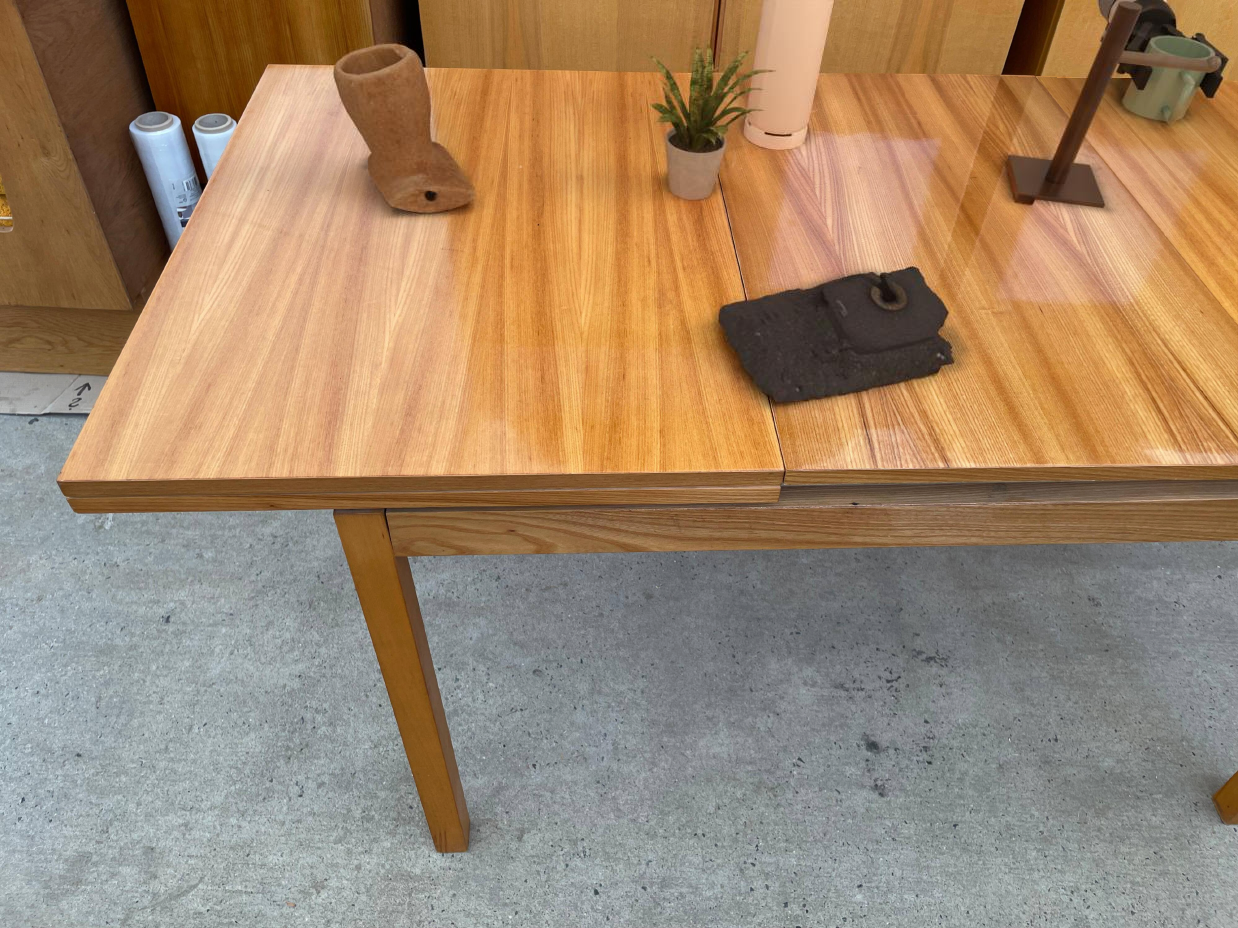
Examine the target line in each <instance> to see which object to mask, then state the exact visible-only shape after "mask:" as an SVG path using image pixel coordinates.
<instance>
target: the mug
mask: <svg viewBox="0 0 1238 928" xmlns="http://www.w3.org/2000/svg"><path fill="white" fill-rule="evenodd" d="M1144 53H1149V54H1158V55H1167V56H1176V57H1185V58H1194V59H1202V60H1206V59H1207V58H1209V57H1211V56H1215V52H1214V51H1213V49H1212V48H1210V47H1208V46H1207V45H1205V44H1203V43H1200V42H1198V41H1195V40H1192V39H1187V38H1183V37H1177V36H1157V37H1154V38H1151V40H1150V42H1149V44H1148V46H1147V48H1146V50H1145V52H1144ZM1151 68H1152V69H1153V71H1152V74H1151V76H1150V78H1149V80H1148V82H1147V84H1146V86H1145V88H1144V90H1138V89H1137V87H1136V86H1135V84H1134V82H1133V80H1132V79H1131V80H1130V82H1129V85H1128V87H1127V90H1126V91H1125V93H1124V96H1123V98H1122V100H1121V103H1122V105H1123V107H1124V108H1126V109H1127V110H1128V111H1130V112H1131V113H1133V114H1135V115H1137V116H1139V117H1143V118H1146V119H1150V120H1155V121H1163V122H1166V123H1167V124H1168V125H1170V126H1171V125H1174V124H1175V123H1176V122H1177V121H1178V120H1180V119H1183V118H1184V116H1185V115H1186V113H1187V110H1188V109H1189V107H1190V105H1191V103H1192V101H1193V99H1194V97H1195V95H1196V93H1197V91H1198V90H1199V88H1200V87H1199V85H1200V83H1201V81H1202V80H1203V78H1204V76H1205V74H1206V72H1199V71H1190V70H1181V69H1173V68H1164V67H1155V66H1151Z"/></svg>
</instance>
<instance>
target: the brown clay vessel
mask: <svg viewBox="0 0 1238 928" xmlns="http://www.w3.org/2000/svg"><path fill="white" fill-rule="evenodd" d="M332 74H333V79H334V83H335V86H336V89H337V92H338V95H339V98H340V100H341V103H342V105H343V107H344V109H345V111H346V114H347V115H348V116H349V118H350V119H351V121H352V123H353V125H354V126H355V128H356V129H357V131H358V132H359V134H360V135H361V137H362V139H363V141H364V142H365V144H366V146H367V149H368V150H369V152H370V154H369V155H368V157H367V168H368V173H369V175H370V177H371V179H372V181H373V182H374V184H375V185H376V187H377V188H378V190H379V191H380V193H381V195H382V196H383V198H384V199H385V201H386V203H388V205H389V206H390V207H392V208H395V209H398V210H403V211H408V212H412V213H422V214H434V213H440V212H441V213H442V212H445V211H449V210H454V209H456V208H460V207H462V206H464V205H467V204H468V203H470V202H472V201H473V200H475V198H476V196H477V193H476V191H475V189H474V187H473V184H471V182H470V180H469V178H468V177H467V175H465V172H463V171H462V169H461V167H460V166H459V165H460V164H458V163H457V161H456V159H455V158H454V157H453V156H452V154H451V153H450V152H449V150H447V149H446V147H445V146H443V145H442V144H441V143H440V142H437V141H432V131H431V115H432V101H431V94H430V89H429V86H428V81H427V78H426V72H425V69H424V66H423V63H422V60H421V58H420V57H419V55H418V54H417V53H416V51H414V50H413V49H411V48H409V47H407V46H406V45H403V44H398V43H381V44H376V45H372V46H369V47H364V48H359V49H356V50H353V51H351V52H349V53H347V54H345V55H343V56H342V57H341V58H340V59H338V61H337V60H336V63H335V64H334V66H333V73H332Z"/></svg>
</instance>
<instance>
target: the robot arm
mask: <svg viewBox="0 0 1238 928" xmlns="http://www.w3.org/2000/svg"><path fill="white" fill-rule="evenodd" d="M1122 1H1129V2H1134V3H1137V4H1139V5H1141V6H1142V10H1141V12H1140V14H1139V16H1138V19H1137V21H1136V23H1135V25H1134V28H1133V30H1132V32H1131V34H1130V37H1129V39H1128V41H1127V43H1126V46H1125V48H1124V50H1123V51H1132V52H1140V53H1144V52H1145V50H1146V48H1147V46H1148V44H1149V42H1150V40H1151V38H1154V37H1157V36H1177V37H1183V38H1187V39H1192V40H1195V41H1198V42H1200V43H1203V44H1205V45H1207V46H1208V47H1210V48H1212V49H1213V51H1214V52H1215V56H1218V57H1219V58H1220V59H1221V65H1220V67H1219V68H1218V69H1217V70H1216V71H1213V72H1211V73H1208V72H1206V74H1205V76H1204V78H1203V80H1202V81H1201V83H1200V85H1199V87H1198V88H1200V90H1201V91H1202V93H1203V95H1204V96H1205V98H1206V99H1214V97H1215V95H1216V93H1217V91H1218V89H1219V87H1220V86H1221V83H1222V82H1223V80H1224V77H1223V75H1222V74H1223V72H1224V70H1225V68H1226V66H1227V65H1228V62H1229V60H1230V59H1229V58H1228V56H1226V55H1225V54H1224V53H1222V51H1220V50H1219V49H1218V48H1217V47H1215V46H1214V45H1213V44H1212V43H1210V41H1208V40H1207V38H1206V36H1205V34H1203V33H1202V32H1196V33H1195V34H1194V35H1192V36H1191V37H1189V36H1186V35H1184V33H1183V31H1180V30H1179V29H1177V17H1176V14H1175V12H1174V10H1173V9H1172V8H1171V6H1170V5H1169V3H1168V1H1167V0H1097V3H1098V7H1099V8H1098V9H1099V13H1100V14H1101V16H1102V17H1103V18H1104V19H1105V21H1106V22H1107V23H1106V26H1105V28H1104V30H1103V33H1102V35H1101V38H1100V40H1099V41H1100V43H1102V41H1103V39H1104V36H1105V34H1106V32H1107V29H1108V27H1109V24H1110V22H1111V20H1112V17H1113V15H1114V13H1115V10H1116V8H1117V6H1118V3H1119V2H1122ZM1152 71H1153V69H1152V68H1151V66H1146V65H1138V64H1129V63H1120V62H1118V64H1117V67H1116V70H1115V72H1116V74H1119V75H1125V74H1127V75H1129V76H1130V79H1131V80H1133V82H1134V84H1135V86H1136V87H1137V89H1138V90H1144V88H1145V86H1146V84H1147V82H1148V80H1149V78H1150V76H1151V74H1152Z"/></svg>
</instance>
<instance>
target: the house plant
mask: <svg viewBox="0 0 1238 928" xmlns="http://www.w3.org/2000/svg"><path fill="white" fill-rule="evenodd" d="M692 48H693V50H694V53H693V60H692V68H691V75H690V81H689V82H690V83H689V96H688V108H687V106H686V103H685V101H684V99H683V97H682V94H681V91H680V89H679V86H678V83H677V82H676V80H675V78H674V76H673V75H672V73H671V71H670V70H669V69H668V68H667V67H666V66H665V65H664V64H663V63H662V62H661V61H659V59H658V58H656V57H655V56H653V55H650V54H648V53H646V56H648V57H649V58H650V60H652V61H653V62H654V64H655V65H656V66H657V67H658V69H659V70H660V72H661V73H662V75H663V76H664V78H665V80H666V82H667V83H666V82H665V81H664V80H662V79H661V78H657V79H658V80H659V81H660V82H661V83H662V84H663V85H664V86H665V87H666V88H665V87H663V86H662V91H663V94H664V100H665V103H666V105H664V104H662V103H651V104H650V106H651V107H652V108H653V109H654V110H655V111H657V112H659V114H661V115H660V117H659V118H658V119H657V120H656V122H655V123H654V125H656V124H657V123H670V124H671V125H672V127H673V128H671V129H669V130H668V131H667V133H666V134H665V137H664V140H665V152H666V153H665V155H666V167H667V168H666V169H667V181H668V189H669V192H670V193H671V194H672V195H674V196H676V197H678V198H680V199H682V200H688V201H699V200H703V199H706V198H709V197H710V196H711V195H712V194H713V190H714V187H715V183H716V180H717V177H718V174H719V171H720V168H721V164H722V162H723V158H724V154H725V151H726V148H727V145H728V139H727V138H726V136H725V135H726V133H727V132H728V131H729V126H730V125H731V124H732V123H734V122H735V121H737V120H738V119H740V118H741V117H743V116H745V115H747V113H749V112H752V111H763V110H760V109H749V110H747V108H746V109H745V108H744V107H741V106H732V107H730V106H731V104H733V103H734V102H735V100H737V99H738V98H740V97H741V96H742V95H745V94H747V93H748V92H749V93H750V91H751V90H763V89H760V88H750V87H748V88H745V89H743V90H741V91H739V92H737V91H736V90H735V88H737V87H738V86H739V85H740V84H742V83H743V82H744V81H746V80H748V79H750V78H752V76H754V75H756V74H759V73H766V72H775V71H774V70H755V71H753V70H752V71H749V72H747V73H745V74H743V75H741V76H740V77H738V78H737V79H736V80H735V81H734V82H732V84H731V82H730V81H731V80H732V78H733V77H734V75H735V74H736V72H737V70H738V69H739V68H740V67H741V66H742V65H743V64H744V62H743V59H744V58H745V57H746V56H747V55H748V54H749V52H750V49H748V50H746V51H744V52H742V53H741V54H740V55H738V56H737V57H736V58H734V60H733V61H732V62H731V63H730V64H729V66H728V67H727V68H726V70H725V71H724V72H723V74H722V75H721V77H720V79H719V80H718V81H717V83H716V86H715V88H714V72H715V71H717V70H718V69H719V68H721V67H722V66H723V65H724V64H721V65H720V66H718V67H716V68H714V58H713V52H712V48H711V46H710V44H709V40H708V39H707V40H706V63H705V60H704V57H703V49H702V47H701V46H700V42H698V43H697V44H696V47H692ZM778 72H779V71H778ZM729 82H730V83H729ZM729 85H730V86H729ZM727 87H728V89H727V90H726V88H727ZM667 89H668V90H669V92H668V90H667ZM713 89H714V90H713ZM670 94H671V95H670ZM730 94H732V95H735V96H734V97H733V98H732V99H730V100H729V102H728V103H727V104H726V106H724V107H723V109H722V110H721V111H720V112H719V113H718V114H717V115H716V113H717V111H718V109H719V108H720V106H721V105H722V104H723V102H724V100H725V98H727V97H728V96H729V95H730ZM671 96H673V98H674V100H675V102H676V103H677V105H678V107H679V110H680V113H681V114H680V113H679V111H678V108H677V106H676V105H675V103H674V101H673V99H672V98H671ZM733 113H734V114H735V113H737V114H736V115H735V116H733V117H732V118H731V119H730V120H729V121H728V122H726V123H724V124H719V125H717V123H718V122H719V121H721V120H722V119H723V118H725V117H726V116H728V115H730V114H733ZM749 114H750V113H749ZM681 115H682V116H681ZM715 115H716V116H715ZM683 119H684V120H683ZM684 121H685V122H684ZM685 123H686V124H685Z"/></svg>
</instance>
